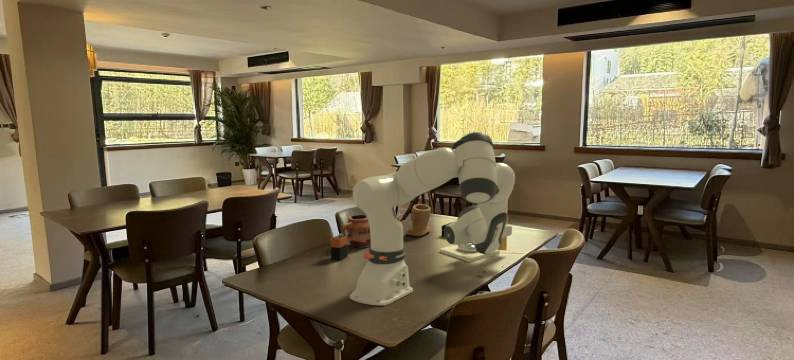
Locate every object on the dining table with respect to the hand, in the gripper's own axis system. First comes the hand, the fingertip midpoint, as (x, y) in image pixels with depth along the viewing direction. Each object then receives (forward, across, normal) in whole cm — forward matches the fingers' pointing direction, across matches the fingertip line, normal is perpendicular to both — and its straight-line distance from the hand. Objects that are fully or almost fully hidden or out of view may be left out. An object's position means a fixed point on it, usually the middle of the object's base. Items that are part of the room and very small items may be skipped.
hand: (501, 224), depth 190 cm
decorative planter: (-38, -50, -14) cm, 64 cm away
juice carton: (+14, -38, -14) cm, 43 cm away
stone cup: (-2, -50, -13) cm, 52 cm away
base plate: (-6, -12, -14) cm, 19 cm away
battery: (-54, -40, -14) cm, 69 cm away
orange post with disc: (-3, -8, -12) cm, 15 cm away
